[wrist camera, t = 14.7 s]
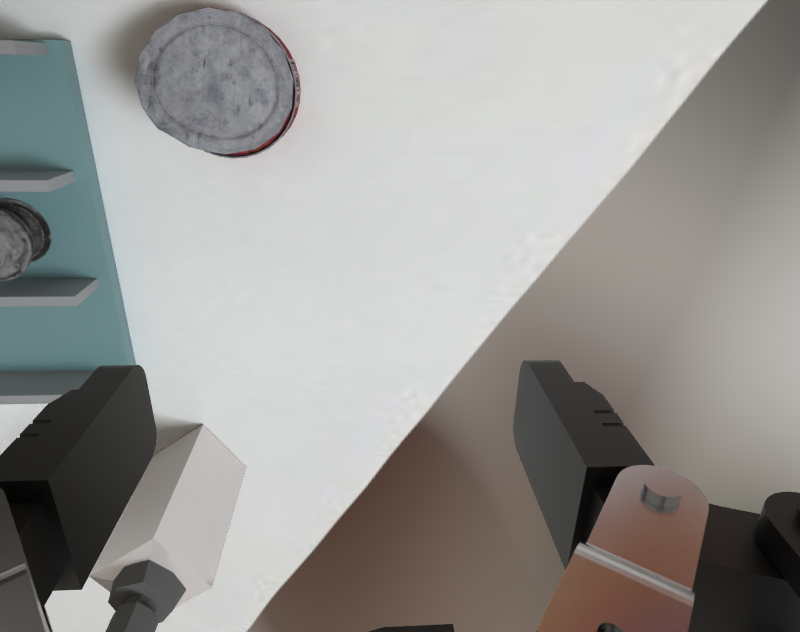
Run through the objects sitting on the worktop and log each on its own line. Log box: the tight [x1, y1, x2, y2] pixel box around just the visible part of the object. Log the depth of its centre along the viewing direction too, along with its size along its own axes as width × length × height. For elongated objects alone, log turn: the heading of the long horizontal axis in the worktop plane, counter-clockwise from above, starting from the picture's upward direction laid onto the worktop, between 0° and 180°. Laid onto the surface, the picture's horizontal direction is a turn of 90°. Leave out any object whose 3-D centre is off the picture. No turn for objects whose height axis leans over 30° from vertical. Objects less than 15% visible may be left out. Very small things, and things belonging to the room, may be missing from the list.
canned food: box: [135, 7, 300, 158], centre depth 40 cm, size 11×10×10 cm
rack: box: [0, 39, 136, 404], centre depth 43 cm, size 28×13×6 cm, turn 179°
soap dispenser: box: [90, 424, 246, 632], centre depth 46 cm, size 6×9×22 cm
